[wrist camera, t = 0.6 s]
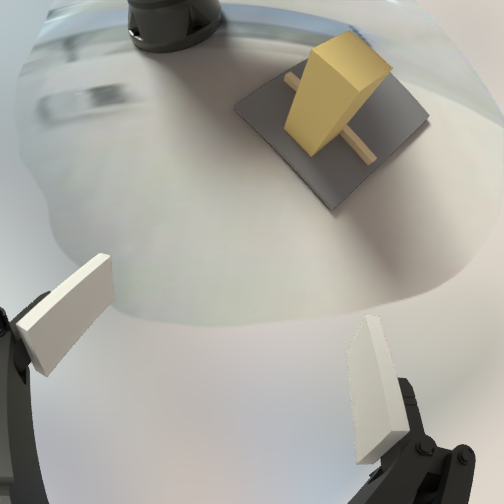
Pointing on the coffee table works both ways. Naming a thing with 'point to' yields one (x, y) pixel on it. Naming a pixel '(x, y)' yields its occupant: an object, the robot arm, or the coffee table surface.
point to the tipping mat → (348, 140)
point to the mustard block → (333, 90)
